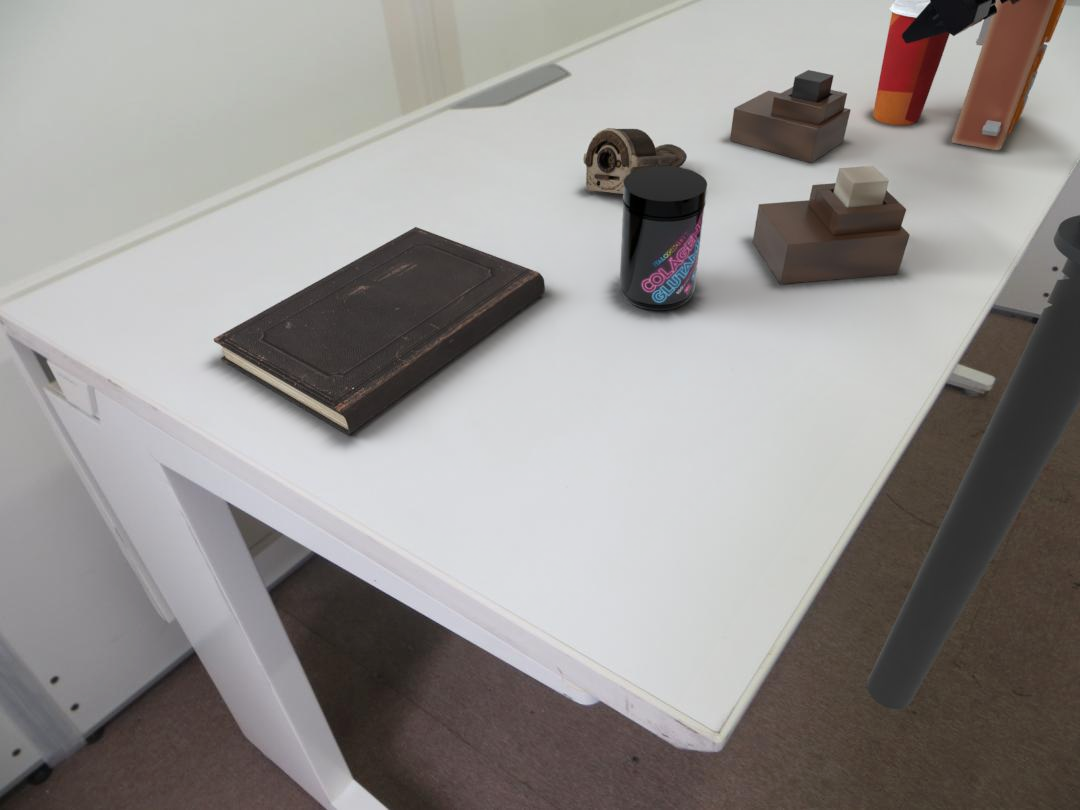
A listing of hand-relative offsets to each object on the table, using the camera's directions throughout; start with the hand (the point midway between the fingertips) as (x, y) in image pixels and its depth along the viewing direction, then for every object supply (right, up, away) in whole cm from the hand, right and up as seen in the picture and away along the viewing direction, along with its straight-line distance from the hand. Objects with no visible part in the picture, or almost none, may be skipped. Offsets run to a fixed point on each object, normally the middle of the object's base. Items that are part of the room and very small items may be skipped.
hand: (904, 38), depth 78 cm
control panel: (+17, -4, +16) cm, 24 cm away
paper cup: (+8, -1, +20) cm, 21 cm away
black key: (-6, -2, +10) cm, 12 cm away
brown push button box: (-11, -24, -7) cm, 27 cm away
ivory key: (-9, -20, -10) cm, 24 cm away
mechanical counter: (-27, -13, +7) cm, 31 cm away
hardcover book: (-51, -31, -13) cm, 61 cm away
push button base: (-8, -6, +15) cm, 17 cm away
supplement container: (-27, -28, -10) cm, 40 cm away
